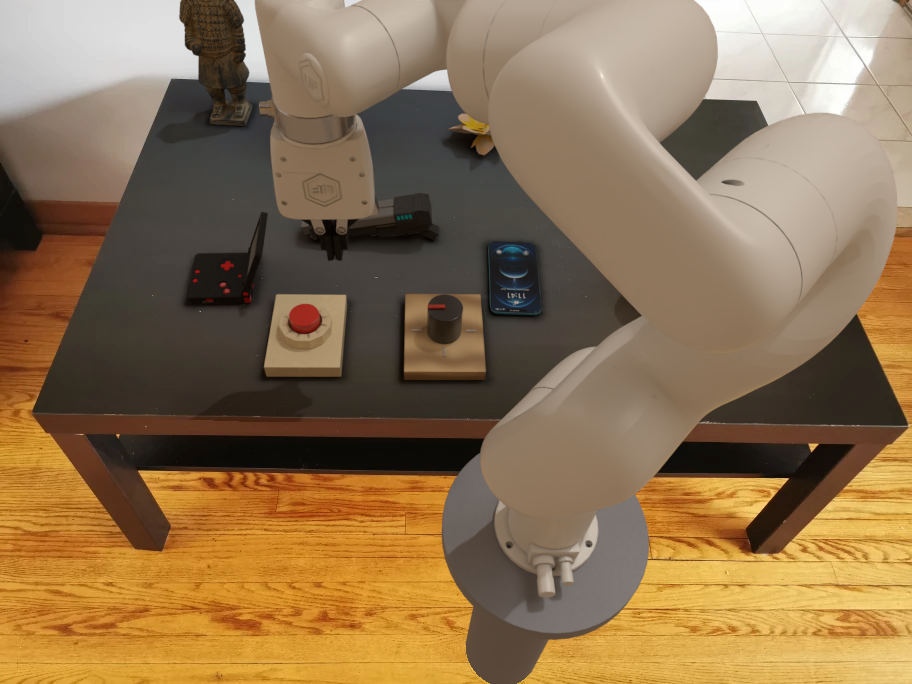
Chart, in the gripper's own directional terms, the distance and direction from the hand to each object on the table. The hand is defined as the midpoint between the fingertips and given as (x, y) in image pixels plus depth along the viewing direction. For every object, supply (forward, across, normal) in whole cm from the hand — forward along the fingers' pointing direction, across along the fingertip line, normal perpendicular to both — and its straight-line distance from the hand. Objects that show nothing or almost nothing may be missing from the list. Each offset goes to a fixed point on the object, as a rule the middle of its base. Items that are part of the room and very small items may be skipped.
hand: (335, 252), depth 82 cm
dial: (+18, +13, +3) cm, 23 cm away
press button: (+16, -6, +3) cm, 18 cm away
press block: (+20, -6, +3) cm, 21 cm away
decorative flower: (+20, +23, +51) cm, 59 cm away
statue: (+18, -25, +56) cm, 64 cm away
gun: (+20, +2, +24) cm, 31 cm away
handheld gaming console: (+20, -18, +14) cm, 30 cm away
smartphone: (+20, +24, +15) cm, 35 cm away
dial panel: (+20, +13, +3) cm, 24 cm away
